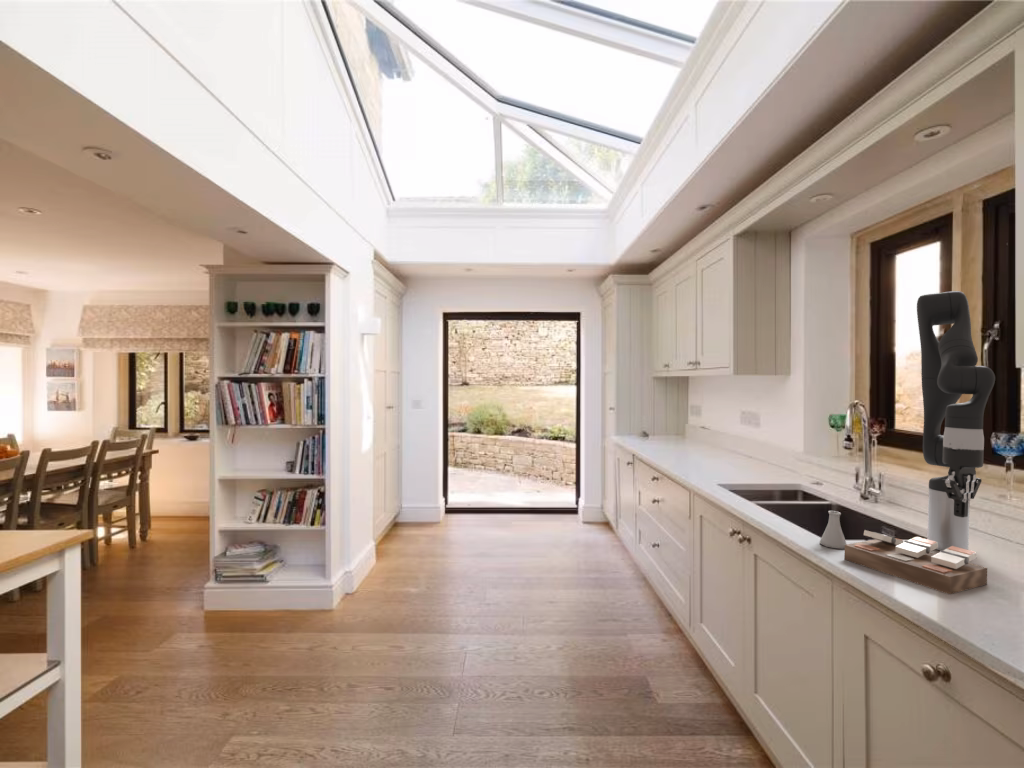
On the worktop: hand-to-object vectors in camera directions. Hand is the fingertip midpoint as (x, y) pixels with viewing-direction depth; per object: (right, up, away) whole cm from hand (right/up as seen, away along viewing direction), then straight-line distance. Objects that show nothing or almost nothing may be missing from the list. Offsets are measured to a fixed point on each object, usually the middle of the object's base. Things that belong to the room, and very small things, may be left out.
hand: (960, 516), depth 125 cm
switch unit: (-8, -16, +5) cm, 18 cm away
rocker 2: (-6, -10, +6) cm, 13 cm away
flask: (-15, -15, +25) cm, 33 cm away
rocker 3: (-3, -10, -1) cm, 10 cm away
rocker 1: (-9, -9, +13) cm, 19 cm away
